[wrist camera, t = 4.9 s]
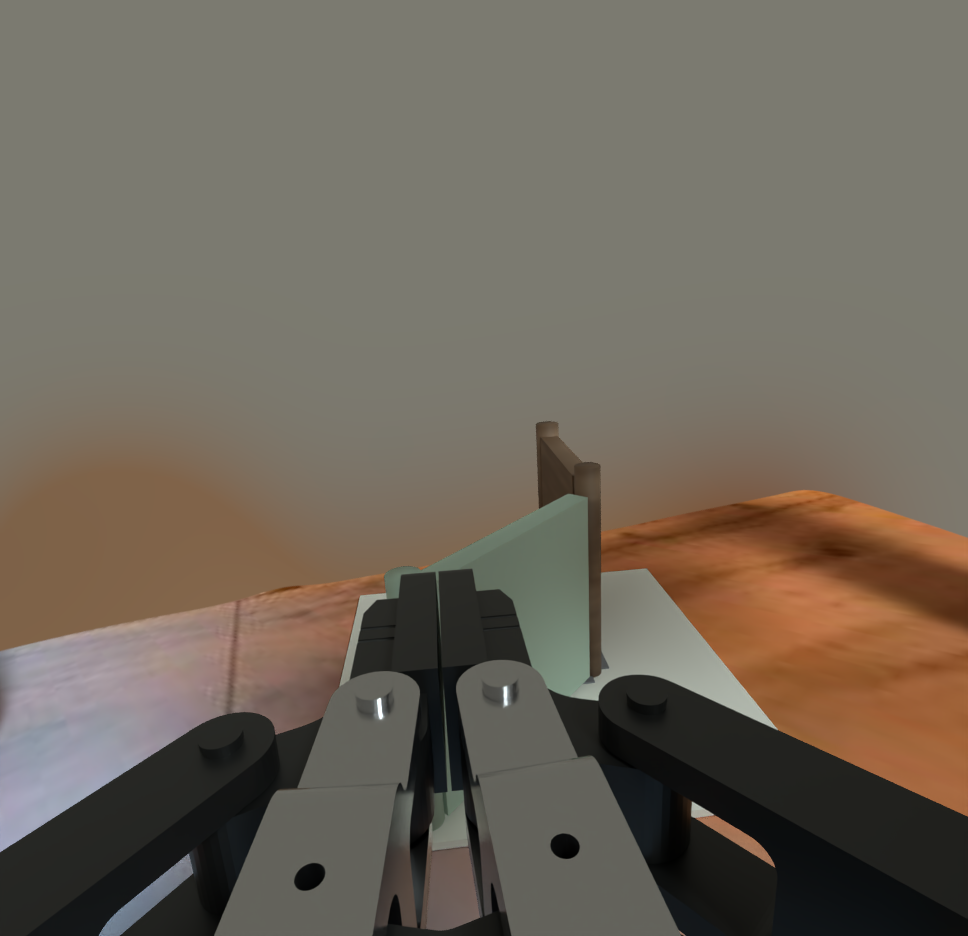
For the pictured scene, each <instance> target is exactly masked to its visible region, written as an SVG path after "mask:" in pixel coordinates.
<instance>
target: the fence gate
mask: <svg viewBox="0 0 968 936" xmlns="http://www.w3.org/2000/svg"><path fill="white" fill-rule="evenodd" d="M460 569H473V575H474V581H475V587H476V591H484V590H495V589H500V590H501V591H502V592H503V593H505V594H506V595H507V596H508V597H510V598H511V599H512V600H513V603H514V606H515V610H516V613H517V617H518V620H519V624H520V628H521V631H522V634H523V638H524V641H525V645H526V648H527V652H528V655H529V658H530V662H531V665H532V667H533V668H534V669H535V670H537V671H538V672H539V673H540V674H541V676H542V677H543V679H544V681H545V684H546V686H547V688H548V689H550V690H552V691H554V692H556V693H559V694H561V695H565V696H569V697H570V696H571V695H572V694H573V693H574V692H575V691H576V690H577V689H578V688H579V687H580V686H581V685H582V684H583V683H584V682H585V681H586V680H587V679H588V678H589V677H590V651H589V566H588V497H583V496H578V495H573V494H567V495H565V496H563V497H561V498H559V499H557V500H555V501H553V502H551V503H549V504H548V505H546V506H544V507H542V508H540V509H538V510H536V511H534V512H532V513H530V514H528V515H526V516H525V517H523V518H521V519H519V520H517V521H515V522H513V523H511V524H509V525H507V526H505V527H503V528H501V529H500V530H498V531H496V532H494V533H492V534H490V535H488V536H487V537H484V538H482V539H480V540H479V541H477V542H475V543H473V544H471V545H469V546H467V547H465V548H463V549H461V550H459V551H457V552H455V553H453V554H452V555H450V556H448V557H446V558H444V559H442V560H440V561H438V562H436V563H434V564H432V565H430V566H428V567H427V568H425V569H423V570H420V569H418V568H416V567H412V566H403V567H397V568H394V569H392V570H389V571H388V572H386V574H385V575H384V579H385V588H386V597H387V599H393V598H399V588H400V578H401V575H402V574H413V573H425V572H436V583H437V596H438V608H439V621H440V600H439V574H438V571H448V570H460ZM440 634H441V627H440ZM443 687H444V686H443ZM444 712H445V699H444ZM445 738H446V763H447V788H448V792H443V793H434V796H435V810H434V817H433V820H432V831H435V830H437V829H438V828H439V827H441V825H442V824H443V822H444V820H445V814H446V815H448V816H449V815H450V814H451V813H452V812H453V811H454V810H455V809H456V808H457V807H458V806H459V805H460V804H461V803H462V802H463V801H464V793H463V790H459V791H452V788H451V776H450V763H449V750H448V737H447V725H446V712H445Z"/></svg>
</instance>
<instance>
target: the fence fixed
mask: <svg viewBox="0 0 968 936" xmlns="http://www.w3.org/2000/svg"><path fill="white" fill-rule="evenodd" d="M536 439H537V467H538V495H539V509H540V508H542V507H544V506H546V505H548V504H549V503H551V502H553V501H555V500H557V499H559V498H561V497H563V496H565V495H567V494H573V495H578V496H583V497H588V566H589V651H590V676H593V678H594V677H597V676H599V675H600V674H601V499H600V497H601V495H600V493H601V491H600V465H599V464H598V463H593V462H584V463H583V462H582V461H581V460H580V459H579V458H578V457H577V456H576V455H575V454H574V453H573V452H572V451H571V450H570V449H569V448H568V447H567V446H566V445H565V443H564V442H563V441H562V440H561V439H560V438H559V437H558V423H557V422H551V421H548V422H539V423H537V424H536Z"/></svg>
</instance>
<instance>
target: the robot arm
mask: <svg viewBox="0 0 968 936" xmlns="http://www.w3.org/2000/svg"><path fill="white" fill-rule="evenodd" d="M438 574H439V600H440V621H439V608H438V596H437V583H436V572H425V573H413V574H402V575H401V578H400V588H399V598H393V599H382V600H376V601H375V602H374V603H373V604H372V605H371V606H370V607H369V608H368V609H367V610H366V611H365V612H364V614H363V618H362V623H361V631H360V633H359V637H358V643H357V647H356V651H355V656H354V661H353V665H352V670H351V675H350V680H349V681H347V682H346V683H344V684H343V685H341V686H340V687H339V688H338V689H337V690H336V691H335V692H334V694H333V695H332V697H331V699H330V701H329V704H328V706H327V709H326V712H325V714H324V717H322V718H321V719H319V720H317V721H315V722H313V723H310V724H308V725H305V726H302V727H299V728H296V729H293V730H290V731H287V732H284V733H280V734H277V735H275V729H274V726H273V724H272V722H271V721H270V720H269V719H268V718H266V717H265V716H262V715H260V714H256V713H249V712H241V713H232V714H227V715H223V716H219V717H217V718H214V719H211V720H209V721H207V722H204V723H202V724H201V725H199V726H197V727H195V728H194V729H192V730H190V731H189V732H187V733H186V734H184V735H183V736H181V737H180V738H178V739H176V740H175V741H173V742H172V743H170V744H169V745H167V746H166V747H164V748H162V749H161V750H159V751H158V752H156V753H155V754H153V755H151V756H150V757H148V758H147V759H145V760H144V761H142V762H141V763H139V764H137V765H136V766H134V767H133V768H131V769H130V770H128V771H126V772H125V773H123V774H122V775H120V776H119V777H117V778H116V779H114V780H112V781H111V782H109V783H108V784H106V785H105V786H103V787H101V788H100V789H98V790H97V791H95V792H94V793H92V794H91V795H89V796H87V797H86V798H84V799H83V800H81V801H80V802H78V803H76V804H75V805H73V806H72V807H70V808H69V809H67V810H66V811H64V812H62V813H61V814H59V815H58V816H56V817H55V818H53V819H51V820H50V821H48V822H47V823H45V824H44V825H42V826H41V827H39V828H37V829H36V830H34V831H33V832H31V833H30V834H28V835H27V836H25V837H23V838H22V839H20V840H19V841H17V842H16V843H14V844H12V845H11V846H9V847H8V848H6V849H5V850H3V851H2V852H0V936H99V934H100V932H101V930H102V929H103V927H104V926H105V925H106V923H107V922H108V921H109V919H110V918H111V917H112V916H113V915H114V914H115V913H116V912H117V911H118V910H120V909H121V908H122V907H123V906H124V905H126V904H127V903H128V902H129V901H131V900H132V899H133V898H134V897H135V896H137V895H138V894H139V893H140V892H142V891H143V890H144V889H145V888H146V887H148V886H149V885H150V884H151V883H153V882H154V881H155V880H156V879H158V878H159V877H160V876H161V875H162V874H164V873H165V872H166V871H167V870H169V869H170V868H171V867H172V866H174V865H175V864H176V863H177V862H178V861H180V860H181V859H182V858H183V857H185V856H186V855H187V854H188V853H189V856H190V860H191V864H192V869H193V874H192V875H191V876H190V877H189V878H187V879H186V880H185V881H184V882H183V883H182V884H180V885H179V886H178V887H177V888H176V889H174V890H173V891H172V892H171V893H170V894H169V895H167V896H166V897H165V898H164V899H163V900H162V901H160V902H159V903H158V904H157V905H156V906H154V907H153V908H152V909H151V910H150V911H149V912H147V913H146V914H145V915H144V916H143V917H142V918H140V919H139V920H138V921H137V922H136V923H134V924H133V925H132V926H131V927H130V928H129V929H127V930H126V931H125V932H124V933H123V934H121V935H120V936H683V935H681V934H680V932H679V930H680V931H681V932H682V933H683V934H685V935H686V936H968V817H967V816H965V815H963V814H961V813H958V812H956V811H954V810H952V809H950V808H947V807H945V806H943V805H941V804H939V803H936V802H934V801H932V800H930V799H928V798H925V797H923V796H921V795H919V794H917V793H914V792H912V791H910V790H908V789H906V788H904V787H901V786H899V785H897V784H895V783H893V782H890V781H888V780H886V779H884V778H882V777H879V776H877V775H875V774H873V773H871V772H868V771H866V770H864V769H862V768H860V767H857V766H855V765H853V764H851V763H849V762H847V761H844V760H842V759H840V758H838V757H836V756H833V755H831V754H829V753H827V752H825V751H822V750H820V749H818V748H816V747H814V746H811V745H809V744H807V743H805V742H803V741H800V740H798V739H796V738H794V737H792V736H790V735H787V734H785V733H783V732H781V731H779V730H776V729H774V728H772V727H770V726H768V725H765V724H763V723H761V722H759V721H757V720H754V719H752V718H750V717H748V716H746V715H743V714H741V713H739V712H737V711H735V710H733V709H730V708H728V707H726V706H724V705H722V704H719V703H717V702H715V701H713V700H711V699H708V698H706V697H704V696H702V695H700V694H697V693H695V692H693V691H691V690H689V689H686V688H684V687H682V686H680V685H678V684H676V683H673V682H671V681H669V680H666V679H663V678H660V677H656V676H650V675H626V676H622V677H618V678H616V679H613V680H611V681H610V682H608V683H607V684H606V685H605V686H604V687H603V688H602V689H601V691H600V693H599V699H598V701H596V700H588V699H580V698H574V697H569V696H565V695H561V694H559V693H556V692H554V691H552V690H550V689H548V688H547V686H546V684H545V681H544V679H543V677H542V676H541V674H540V673H539V672H538V671H537V670H535V669H534V668H533V667H532V665H531V662H530V658H529V655H528V652H527V648H526V645H525V641H524V638H523V634H522V631H521V628H520V624H519V620H518V617H517V613H516V610H515V606H514V603H513V600H512V599H511V598H510V597H508V596H507V595H506V594H505V593H503V592H502V591H501V590H500V589H495V590H484V591H476V587H475V581H474V575H473V569H460V570H448V571H438ZM440 627H441V634H440ZM443 686H444V687H443ZM444 699H445V712H446V725H447V737H448V750H449V763H450V776H451V788H452V791H459V790H463V793H464V806H465V819H466V833H467V841H468V847H469V853H470V859H471V866H472V872H473V878H474V884H475V890H476V896H477V902H478V909H479V915H480V918H479V919H476V920H474V921H471V922H469V923H466V924H464V925H461V926H459V927H456V928H453V929H450V930H444V931H436V930H428V929H426V921H427V909H428V896H429V883H430V870H431V858H432V845H433V831H432V820H433V817H434V810H435V796H434V793H443V792H448V788H447V763H446V738H445V712H444ZM692 802H694V803H696V804H697V805H699V806H701V807H702V808H704V809H706V810H707V811H709V812H711V813H712V814H714V815H716V816H717V817H719V818H721V819H722V820H724V821H726V822H727V823H729V824H731V825H732V826H734V827H736V828H737V829H739V830H741V831H742V832H744V833H746V834H747V835H749V836H750V837H752V838H753V839H755V840H756V841H757V842H758V843H759V844H760V845H761V846H762V847H763V848H764V849H765V850H766V851H767V853H768V854H769V856H770V857H771V859H772V861H773V862H774V865H775V867H776V868H775V867H773V866H771V865H770V864H768V863H766V862H765V861H763V860H762V859H760V858H758V857H757V856H755V855H753V854H752V853H750V852H749V851H747V850H745V849H744V848H742V847H741V846H739V845H737V844H736V843H734V842H732V841H731V840H729V839H728V838H726V837H724V836H723V835H721V834H719V833H718V832H716V831H715V830H713V829H711V828H710V827H708V826H706V825H705V824H703V823H702V822H700V821H698V820H697V819H695V818H693V817H692V816H691V811H692Z"/></svg>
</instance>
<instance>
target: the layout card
mask: <svg viewBox="0 0 968 936" xmlns="http://www.w3.org/2000/svg"><path fill="white" fill-rule="evenodd" d="M382 599H387V597H386V593H383V594H372V595H362V596H360V599H359V603H358V608H357V612H356V616H355V621H354V625H353V629H352V634H351V638H350V642H349V647H348V651H347V655H346V660H345V664H344V668H343V673H342V677H341V681H340V686H341V685H343V684H344V683H346V682H347V681H349V680H350V675H351V670H352V665H353V661H354V656H355V651H356V647H357V643H358V637H359V633H360V631H361V623H362V618H363V614H364V612H365V611H366V610H367V609H368V608H369V607H370V606H371V605H372V604H373V603H374V602H375V601H376V600H382ZM626 675H650V676H656V677H660V678H663V679H666V680H669V681H671V682H673V683H676V684H678V685H680V686H682V687H684V688H686V689H689V690H691V691H693V692H695V693H697V694H700V695H702V696H704V697H706V698H708V699H711V700H713V701H715V702H717V703H719V704H722V705H724V706H726V707H728V708H730V709H733V710H735V711H737V712H739V713H741V714H743V715H746V716H748V717H750V718H752V719H754V720H757V721H759V722H761V723H763V724H765V725H768V726H770V727H772V728H774V729H776V730H778V729H777V728H776V727H775V726H774V725H773V723H772V722H771V721H770V720H769V718H768V717H767V716H766V715H765V713H764V712H763V711H762V710H761V709H760V707H759V706H758V705H757V704H756V702H755V701H754V700H753V699H752V697H751V696H750V695H749V694H748V693H747V691H746V690H745V689H744V688H743V686H742V685H741V684H740V683H739V681H738V680H737V679H736V678H735V677H734V675H733V674H732V673H731V672H730V670H729V669H728V668H727V667H726V665H725V664H724V663H723V662H722V661H721V659H720V658H719V657H718V656H717V654H716V653H715V652H714V651H713V649H712V648H711V647H710V646H709V645H708V643H707V642H706V641H705V640H704V638H703V637H702V636H701V635H700V633H699V632H698V631H697V630H696V629H695V627H694V626H693V625H692V624H691V622H690V621H689V620H688V619H687V617H686V616H685V615H684V614H683V613H682V611H681V610H680V609H679V608H678V606H677V605H676V604H675V603H674V601H673V600H672V599H671V598H670V597H669V595H668V594H667V593H666V592H665V590H664V589H663V588H662V587H661V585H660V584H659V583H658V582H657V581H656V579H655V578H654V577H653V576H652V574H651V573H650V572H649V571H648V569H647V568H645V569H635V570H624V571H614V572H603V573H601V674H600V675H599V676H597V677H594V678H593V676H590V677H589V678H588V679H587V680H586V681H585V682H584V683H583V684H582V685H581V686H580V687H579V688H578V689H577V690H576V691H575V692H574V693H573V694H572V695H571V696H570V697H574V698H580V699H588V700H596V701H598V699H599V693H600V691H601V689H602V688H603V687H604V686H605V685H606V684H607V683H608V682H610V681H611V680H613V679H616V678H618V677H622V676H626ZM340 686H339V687H340ZM712 815H714V814H712V813H711V812H709V811H707V810H706V809H704V808H702V807H701V806H699V805H697V804H696V803H694V802H692V811H691V816H692V817H693V818H696V817H704V816H712ZM466 846H468V841H467V833H466V819H465V806H464V801H463V802H462V803H461V804H460V805H459V806H458V807H457V808H456V809H455V810H454V811H453V812H452V813H451V814H450V815H449V816H448V815H446V814H445V820H444V822H443V824H442V825H441V827H439V828H438V829H437V830H435V831H433V845H432V851H434V850H442V849H450V848H458V847H466Z"/></svg>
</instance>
